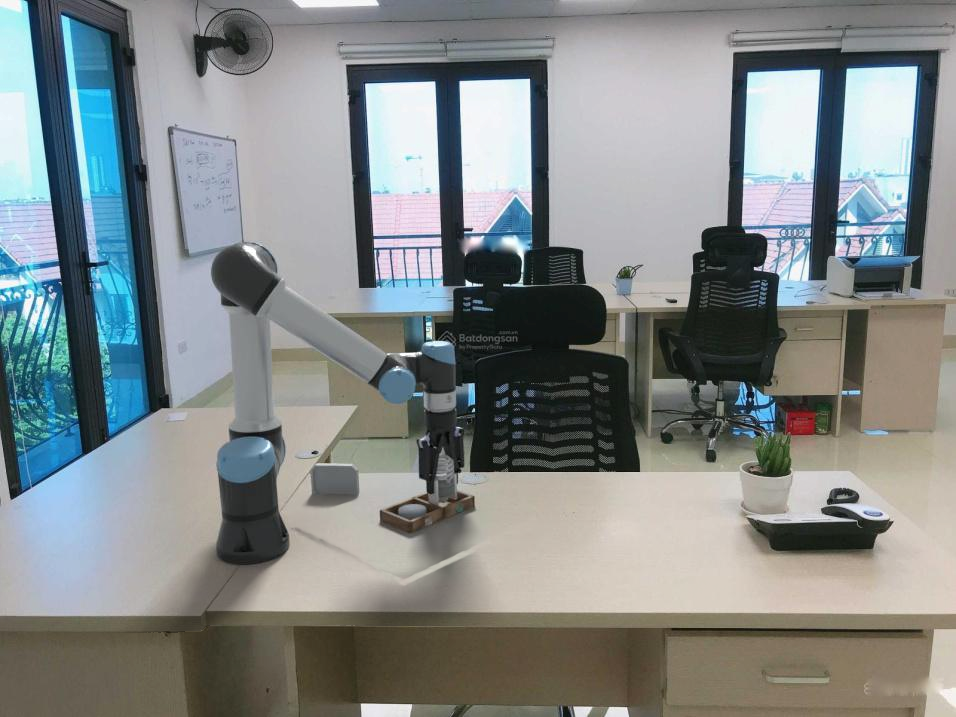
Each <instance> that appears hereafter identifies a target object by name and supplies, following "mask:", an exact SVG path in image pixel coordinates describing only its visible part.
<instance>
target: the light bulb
mask: <svg viewBox="0 0 956 717" xmlns="http://www.w3.org/2000/svg"><path fill="white" fill-rule="evenodd" d="M446 459H448V460H446ZM453 463H454V461H453V459H452V458H450V457H449V456H448V455H445V454H439V460H438V466H437V472H436V478H435V480H438V494H439V501H440V502H442V503H445V502H446V501H447V500H448V496H450V495H452V494H453V492H454V482H453V480H452V478H453V473H454V464H453ZM446 473H448V474H446ZM449 476H450V478H447V477H449Z"/></svg>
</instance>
